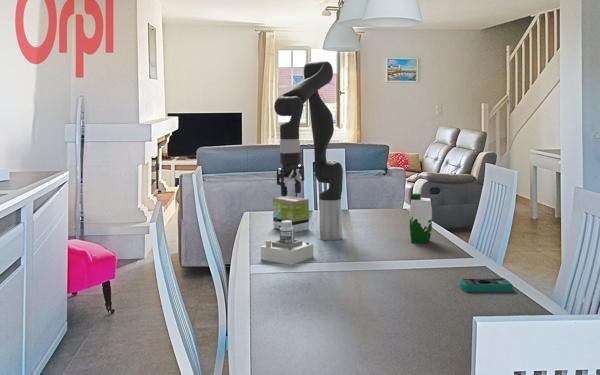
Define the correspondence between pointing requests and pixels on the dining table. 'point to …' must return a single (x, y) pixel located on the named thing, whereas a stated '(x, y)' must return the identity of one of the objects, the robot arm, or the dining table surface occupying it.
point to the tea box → (291, 212)
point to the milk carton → (420, 219)
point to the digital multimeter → (486, 285)
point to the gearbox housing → (286, 251)
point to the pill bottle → (286, 232)
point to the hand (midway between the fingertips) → (291, 194)
